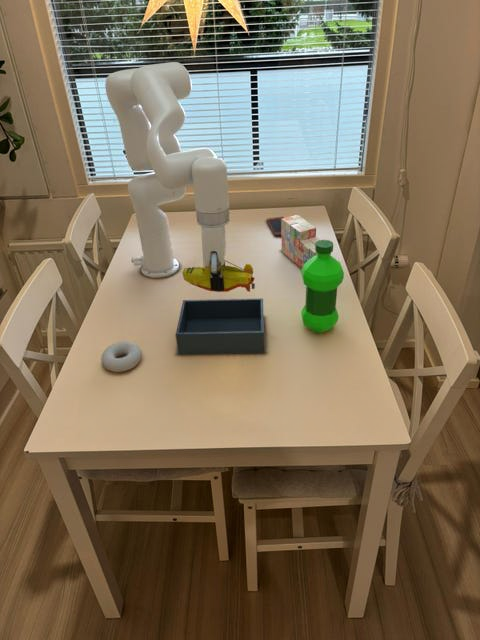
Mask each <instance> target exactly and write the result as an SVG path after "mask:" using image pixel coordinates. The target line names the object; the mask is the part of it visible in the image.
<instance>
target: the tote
mask: <svg viewBox="0 0 480 640" xmlns="http://www.w3.org/2000/svg"><path fill="white" fill-rule="evenodd" d="M264 315H265V314H264V298H257V297H256V298H222V299H221V298H220V299H219V298H218V299H217V298H216V299H183V300H182V305H181V308H180V312H179V316H178V321H177V324H176V325H177V326H176V330H175V339H176V340H175V341H176V347H177V353H178V355H227V354H228V355H229V354H230V355H231V354H232V355H233V354H265V322H264V321H265V319H264Z"/></svg>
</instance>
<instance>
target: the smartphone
mask: <svg viewBox="0 0 480 640" xmlns="http://www.w3.org/2000/svg"><path fill="white" fill-rule="evenodd" d="M282 218H285V216H277V217H268V218H266V222H267V224H268V226H269V228H270V230H271V231H272V233H273V235H274V237H282V235H281V219H282Z"/></svg>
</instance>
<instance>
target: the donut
mask: <svg viewBox="0 0 480 640" xmlns="http://www.w3.org/2000/svg"><path fill="white" fill-rule="evenodd" d="M122 355H124V356H122ZM119 356H122V357H119ZM141 358H142V350H141V348H140V347H139V345H137V344H136V343H134V342H132V341H131V342H130V341H118V342H115V343H113V344H111V345H109V346H107V347H106V348H105V350H103V352H102V354H101V363H102V365H103V367H104V368H105V369H107V370H108V371H111V372H114V373H117V372H118V373H121V372H126V371H128V370H132V369H133V368H135V367H136V366H137V365H138V364H139V362H140V361H141Z"/></svg>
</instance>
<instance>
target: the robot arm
mask: <svg viewBox="0 0 480 640" xmlns="http://www.w3.org/2000/svg"><path fill="white" fill-rule="evenodd" d="M190 75H191V74H190V72H189V71H188V70H187V68H186V67H185V66H184V65H183V64H182V63H180V62H179V61H178V62H177V61H170V62H162V63H154V64H147V65H142V66H140V67H137V68H135V67H134V68H127V69H123V70H122V69H121V70H118V71H115V72H112V73H110V74H109V75H107V77H106V78H105V84H104V85H105V94H106V97H107V100H108V102H109V104H110V107H111V109H112V110H113V113H114V114H115V117H116V119H117V120H118V124H119V128H120V132H121V133H120V134H121V138H122V143H123V148H124V152H125V157H126V161H127V164H128V166H129V167H130V169H131V170H133V171H136V172H142V171H148V170H153V172H149V173H144V174H140V175H137V176H135V177H133V178H131V179H130V181H129V182H128V184H127V192H128V196H129V199H130V201H131V205H132V207H133V210H134V214H135V219H136V223H137V229H138V235H139V240H140V245H141V250H142V255H141V256H131V263H132V264H133V266H135V267H137V266H140V271H141V274H143V275H144V276H145V277H147V278H153V279H161V278H166V277H169V276H172V275H173V274H175V273H177V272H178V270H179V269H180V264H179V261H178V259H176V258H174V253H173V247H172V240H171V232H170V225H169V219H168V216H167V214H166V213H165V212H164V211H163V210H162V209H160V208H159V206H161V205H165V204H167V203H168V204H169V203H172V202H176V201H180V200H182V199H183V198H184V197H186V193H187V187H193V196H194V197H193V198H194V207H195V215H196V224H197V225H198V226H200V227H201V248H202V249H201V250H202V262H203V267H206V266H209V263H210V285H211V291H210V292H215V291H223V290H224V278H223V275H222V267H223V266H226V261H225V260H226V251H227V249H226V248H227V234H226V225H228V224H229V223H230V222H231V216H230V199H229V198H230V197H229V183H228V167H227V164H226V162H225V160H223V159H222V158H221V157H218V156H217V155H216V154H215V152H214V151H213V150H212V149H210V148H208V147H200V148H194V149H189V150H185V151H184V150H183V151H182V149H181V145H180V142H179V139H178V138H177V136H176V134H177V133H178V132H179V131H180V130H181V129H182V127H183V126H184V124H185V121H186V113H185V110H184V108H183V106H182V104H181V103H180V100H185V99H188V98H189V97H190V95H191V93H192V87H193V85H192V83H193V82H192V78H191V76H190ZM217 262H220V264H217ZM217 267H219V270H217Z"/></svg>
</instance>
